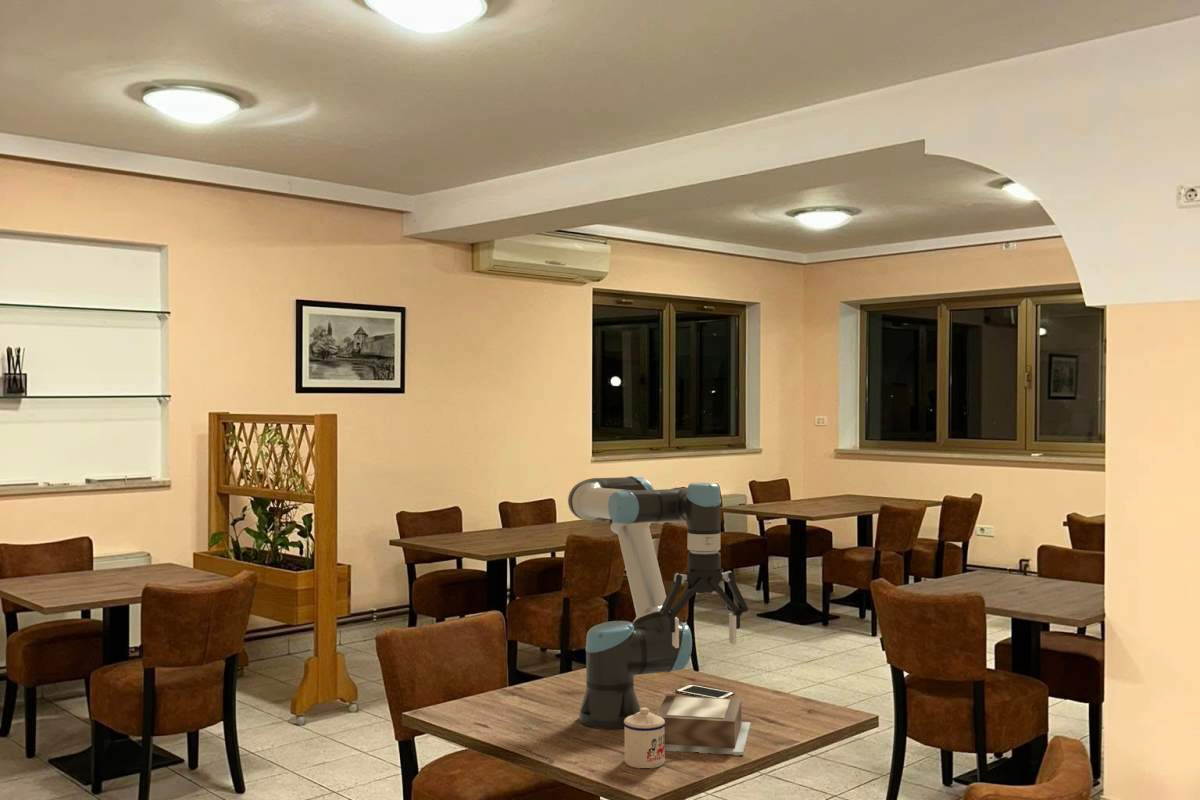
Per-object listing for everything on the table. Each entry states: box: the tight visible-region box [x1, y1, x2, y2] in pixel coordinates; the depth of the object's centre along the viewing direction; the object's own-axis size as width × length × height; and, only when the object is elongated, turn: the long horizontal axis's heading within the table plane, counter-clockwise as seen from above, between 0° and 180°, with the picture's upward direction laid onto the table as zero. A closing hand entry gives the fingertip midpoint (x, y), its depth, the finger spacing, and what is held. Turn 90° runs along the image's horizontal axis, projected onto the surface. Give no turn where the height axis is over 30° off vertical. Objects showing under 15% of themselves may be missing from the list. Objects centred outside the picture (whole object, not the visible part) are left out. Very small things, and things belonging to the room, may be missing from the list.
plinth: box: [655, 694, 752, 756], centre depth 244 cm, size 22×22×7 cm
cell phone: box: [675, 684, 736, 699], centre depth 280 cm, size 8×15×1 cm, turn 53°
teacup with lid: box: [623, 707, 666, 769], centre depth 228 cm, size 12×9×12 cm
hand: (704, 645), depth 238 cm, fingers open, 13 cm apart
